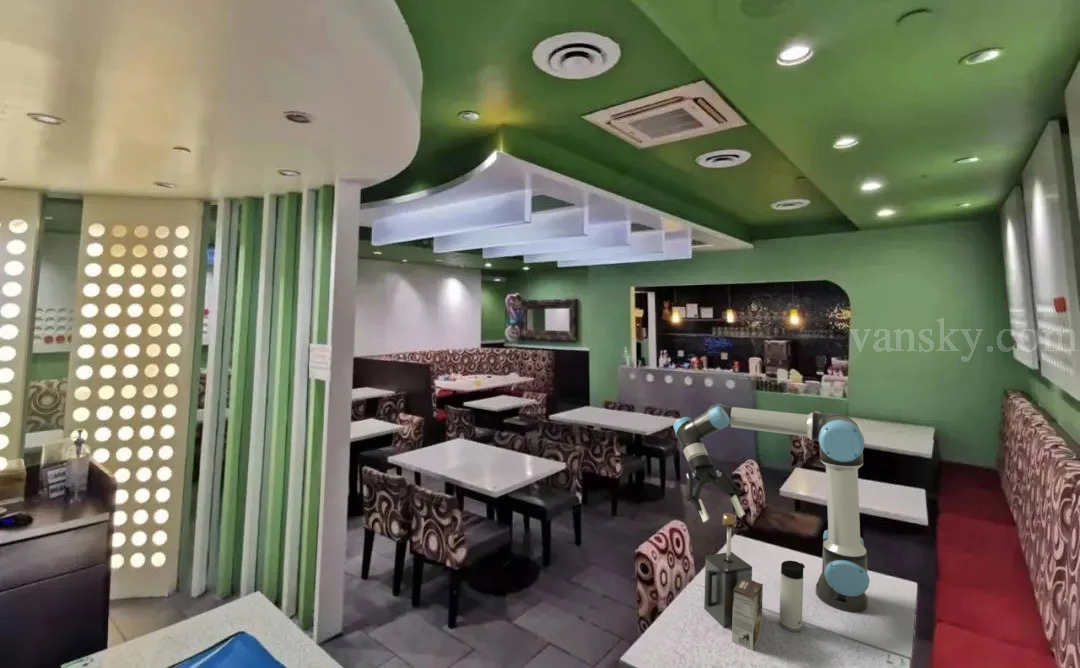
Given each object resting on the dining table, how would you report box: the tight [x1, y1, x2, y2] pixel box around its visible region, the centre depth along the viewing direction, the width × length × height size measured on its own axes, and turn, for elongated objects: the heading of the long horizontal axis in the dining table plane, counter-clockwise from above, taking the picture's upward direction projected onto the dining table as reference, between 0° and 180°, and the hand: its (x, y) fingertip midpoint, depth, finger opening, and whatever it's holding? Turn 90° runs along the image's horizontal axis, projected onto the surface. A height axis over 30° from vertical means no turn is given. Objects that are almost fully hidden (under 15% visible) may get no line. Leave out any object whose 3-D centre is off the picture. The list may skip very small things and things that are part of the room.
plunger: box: [722, 512, 737, 563], centre depth 156 cm, size 8×8×24 cm
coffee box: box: [731, 577, 764, 651], centre depth 145 cm, size 9×6×16 cm
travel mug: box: [778, 560, 806, 633], centre depth 151 cm, size 6×7×20 cm
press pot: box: [703, 551, 753, 629], centre depth 156 cm, size 13×10×18 cm
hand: (724, 518), depth 156 cm, fingers open, 13 cm apart
